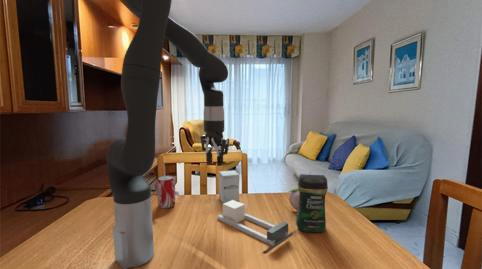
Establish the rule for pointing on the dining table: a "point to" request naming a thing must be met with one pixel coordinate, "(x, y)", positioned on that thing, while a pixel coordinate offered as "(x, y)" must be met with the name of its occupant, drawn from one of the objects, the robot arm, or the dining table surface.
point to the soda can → (166, 191)
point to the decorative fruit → (294, 198)
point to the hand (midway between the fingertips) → (214, 164)
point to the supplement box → (228, 186)
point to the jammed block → (234, 210)
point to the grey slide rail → (273, 234)
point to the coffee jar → (312, 203)
